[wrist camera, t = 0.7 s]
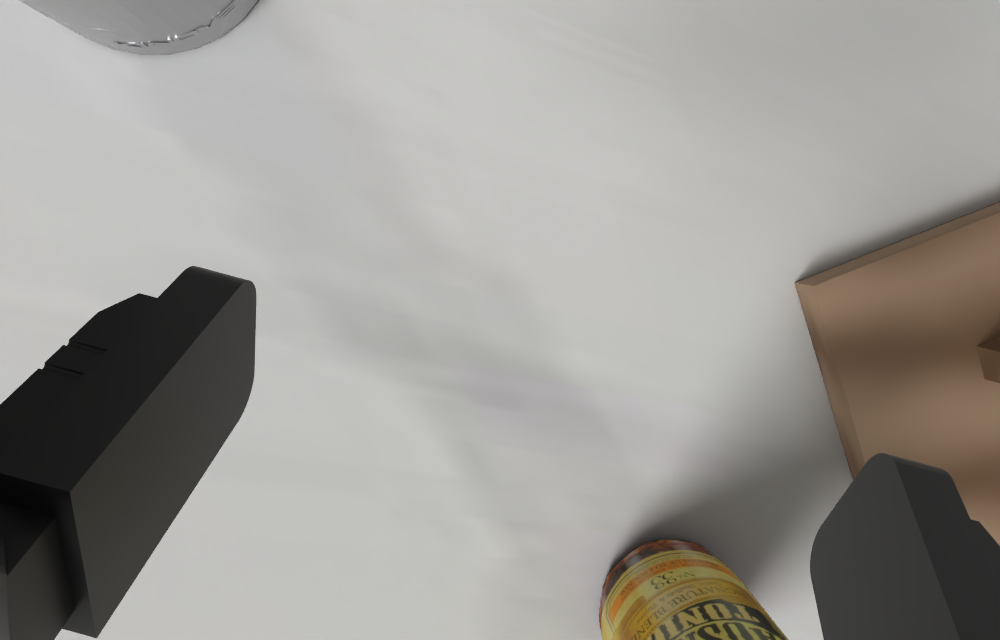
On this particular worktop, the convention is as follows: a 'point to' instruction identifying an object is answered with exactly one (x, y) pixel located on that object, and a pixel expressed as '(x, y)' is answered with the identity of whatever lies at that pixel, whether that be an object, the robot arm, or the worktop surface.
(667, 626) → the sauce bottle
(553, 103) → the worktop surface
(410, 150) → the worktop surface
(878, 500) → the robot arm
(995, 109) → the worktop surface
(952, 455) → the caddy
